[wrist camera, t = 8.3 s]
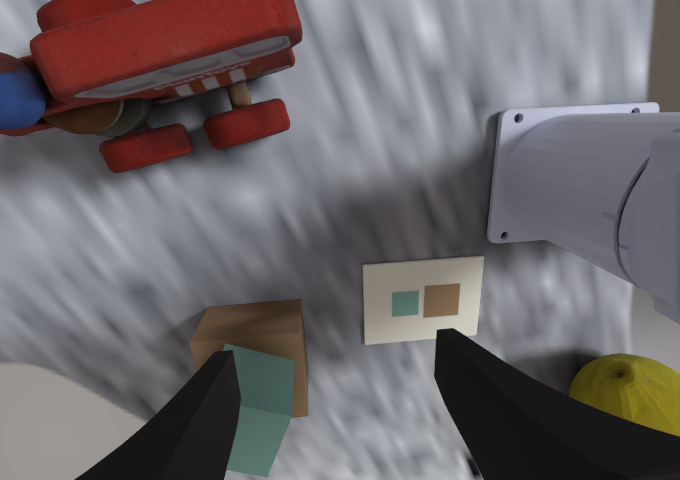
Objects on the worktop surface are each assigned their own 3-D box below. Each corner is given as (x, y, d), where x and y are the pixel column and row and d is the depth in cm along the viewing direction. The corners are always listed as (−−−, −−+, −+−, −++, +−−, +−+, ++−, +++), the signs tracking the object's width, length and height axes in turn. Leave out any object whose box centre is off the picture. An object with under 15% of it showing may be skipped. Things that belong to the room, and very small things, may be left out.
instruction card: (482, 255, 23) (484, 256, 23) (475, 333, 25) (476, 335, 25) (362, 264, 23) (363, 266, 22) (364, 343, 25) (365, 345, 24)
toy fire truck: (38, 40, 17) (-319, -64, 7) (282, -22, 17) (249, -205, 7) (103, 177, 20) (-103, 237, 10) (318, 123, 20) (328, 128, 10)
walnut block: (301, 297, 23) (299, 332, 19) (308, 371, 25) (308, 415, 21) (209, 305, 23) (189, 342, 19) (223, 379, 25) (208, 426, 21)
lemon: (650, 404, 29) (770, 504, 21) (561, 440, 29) (647, 551, 22) (631, 301, 25) (767, 378, 18) (529, 344, 26) (620, 437, 18)
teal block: (294, 360, 20) (291, 416, 16) (274, 413, 21) (267, 477, 17) (225, 343, 19) (205, 398, 16) (208, 398, 20) (185, 462, 17)
